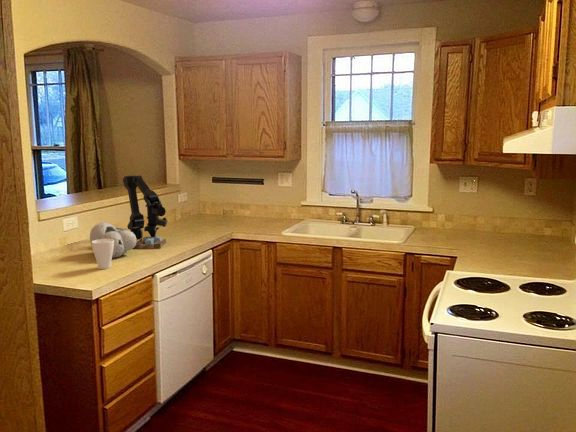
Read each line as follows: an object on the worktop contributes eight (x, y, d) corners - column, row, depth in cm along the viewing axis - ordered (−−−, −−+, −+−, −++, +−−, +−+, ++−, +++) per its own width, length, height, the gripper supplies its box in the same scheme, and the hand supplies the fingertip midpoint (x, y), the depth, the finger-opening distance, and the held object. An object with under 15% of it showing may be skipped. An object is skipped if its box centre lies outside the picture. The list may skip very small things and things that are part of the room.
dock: (134, 248, 301) (133, 244, 301) (141, 243, 316) (140, 239, 315) (160, 248, 301) (160, 244, 301) (166, 242, 316) (165, 238, 315)
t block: (139, 247, 305) (139, 240, 304) (144, 243, 315) (144, 236, 315) (156, 247, 305) (156, 240, 304) (161, 243, 315) (161, 236, 314)
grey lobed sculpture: (109, 249, 268) (112, 210, 276) (79, 261, 281) (83, 223, 290) (141, 258, 283) (143, 221, 292) (112, 269, 296) (114, 233, 305)
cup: (107, 271, 254) (105, 243, 252) (88, 269, 257) (86, 242, 255) (119, 265, 264) (118, 239, 262) (101, 264, 267) (99, 238, 265)
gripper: (162, 217, 305) (163, 243, 307) (169, 211, 323) (170, 236, 326) (143, 217, 305) (144, 243, 307) (151, 212, 323) (152, 236, 326)
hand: (153, 240), depth 316 cm, fingers closed
